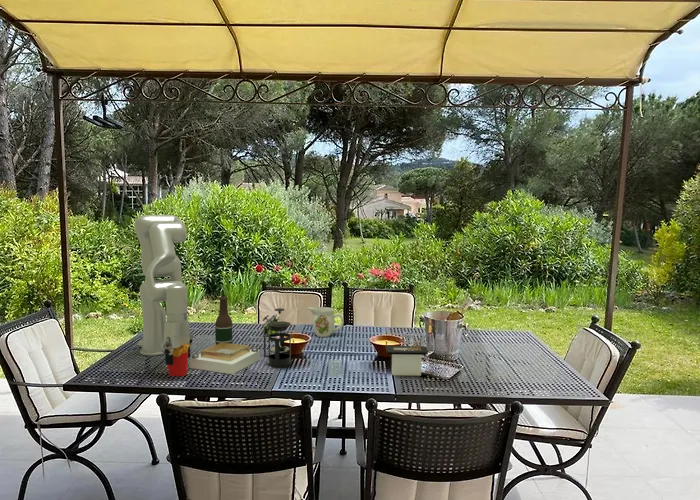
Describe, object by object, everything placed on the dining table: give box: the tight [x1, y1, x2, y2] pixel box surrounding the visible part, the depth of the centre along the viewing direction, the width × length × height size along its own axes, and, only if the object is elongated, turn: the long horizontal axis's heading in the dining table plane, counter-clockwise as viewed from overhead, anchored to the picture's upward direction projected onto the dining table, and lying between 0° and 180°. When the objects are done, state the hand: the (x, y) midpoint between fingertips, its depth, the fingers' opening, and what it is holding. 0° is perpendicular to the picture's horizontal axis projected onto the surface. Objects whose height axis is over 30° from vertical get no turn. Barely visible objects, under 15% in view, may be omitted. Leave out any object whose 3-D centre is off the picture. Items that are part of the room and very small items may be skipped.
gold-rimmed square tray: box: [189, 342, 261, 375], centre depth 213 cm, size 20×20×6 cm
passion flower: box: [262, 313, 282, 335], centre depth 263 cm, size 11×11×12 cm
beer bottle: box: [214, 296, 233, 345], centre depth 232 cm, size 8×8×24 cm
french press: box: [263, 308, 292, 369], centre depth 213 cm, size 12×9×23 cm
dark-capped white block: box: [385, 337, 429, 376], centre depth 203 cm, size 35×28×14 cm
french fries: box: [167, 344, 189, 377], centre depth 200 cm, size 8×4×12 cm, turn 92°
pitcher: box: [307, 306, 345, 338], centre depth 259 cm, size 11×18×14 cm, turn 88°
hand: (178, 360), depth 200 cm, fingers open, 9 cm apart
